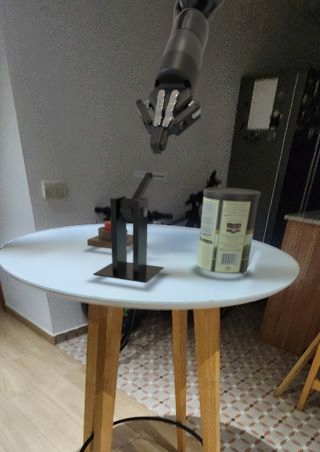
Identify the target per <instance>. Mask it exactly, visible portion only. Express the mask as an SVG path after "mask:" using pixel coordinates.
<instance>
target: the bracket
mask: <svg viewBox="0 0 320 452" xmlns="http://www.w3.org/2000/svg"><path fill="white" fill-rule="evenodd" d="M125 198H127V196H126V195H118V196H113V197H110V198H109V199H110V200H109V202H110V203H109V204H110V205H109V206H110V221H111V239H112V249H111V263H109V264H107V265H106V266H104V267H102V268H101V269H99V270H96V272H94V273H92V275H93V276H97V277H98V276H99V277H103V278H110V279H116V280H123V281H130V282H137V283H141V284H142V283H143V284H147V283H148V282H149V281H150V280H151V279H152V278H154V277H155V276H157V274H159V273H160V272H161V271H162V270H163V269H164V266H158V265H152V264H148V263H147V262H148V261H147V260H148V218H149V217H148V216H149V215H148V213H149V211H148V210H149V198H148V197H142V198H140V199H137V200H133V223H132V235H133V243H132V262H131V261H128V257H127V256H128V255H127V254H128V253H127V251H128V250H127V247H128V246H127V238H126V229H127V222H123V221H122V219H121V214H120V209H119V208H120V206H121V204H122V203H123V201H124V199H125Z"/></svg>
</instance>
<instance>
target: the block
mask: <svg viewBox="0 0 320 452" xmlns="http://www.w3.org/2000/svg"><path fill="white" fill-rule="evenodd" d="M126 238H127V247H128V246H130V245H133V234H129V233H128V229H127V228H126ZM86 243H87V246H89V247H96V248H104V249H110V250H112V239H111V231H108V230H105V225H104V226H100V227H98V228H97V235H95V236H92V237H90V238H88V239H87V240H86Z"/></svg>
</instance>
